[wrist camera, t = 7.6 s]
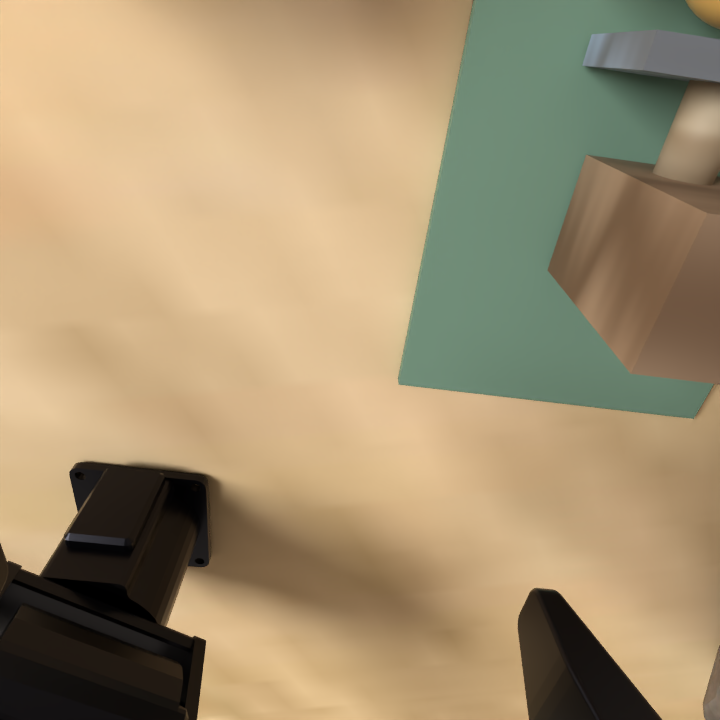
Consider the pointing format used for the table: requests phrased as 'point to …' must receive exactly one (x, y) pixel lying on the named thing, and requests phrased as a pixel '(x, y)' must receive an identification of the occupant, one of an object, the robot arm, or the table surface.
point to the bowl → (713, 693)
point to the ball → (706, 11)
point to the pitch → (535, 205)
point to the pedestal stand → (653, 221)
